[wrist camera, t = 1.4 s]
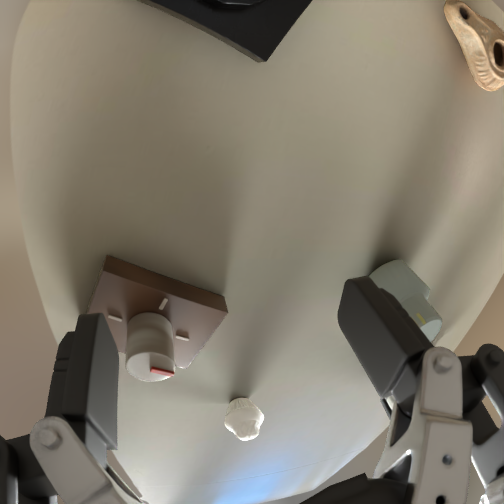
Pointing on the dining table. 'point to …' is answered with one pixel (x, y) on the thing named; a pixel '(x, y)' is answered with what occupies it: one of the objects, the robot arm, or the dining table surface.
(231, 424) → the muffin
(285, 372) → the dining table surface
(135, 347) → the dimmer knob
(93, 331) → the robot arm
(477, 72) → the pottery oil lamp
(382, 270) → the air freshener
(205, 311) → the dimmer panel
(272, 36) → the switch block
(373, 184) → the dining table surface
